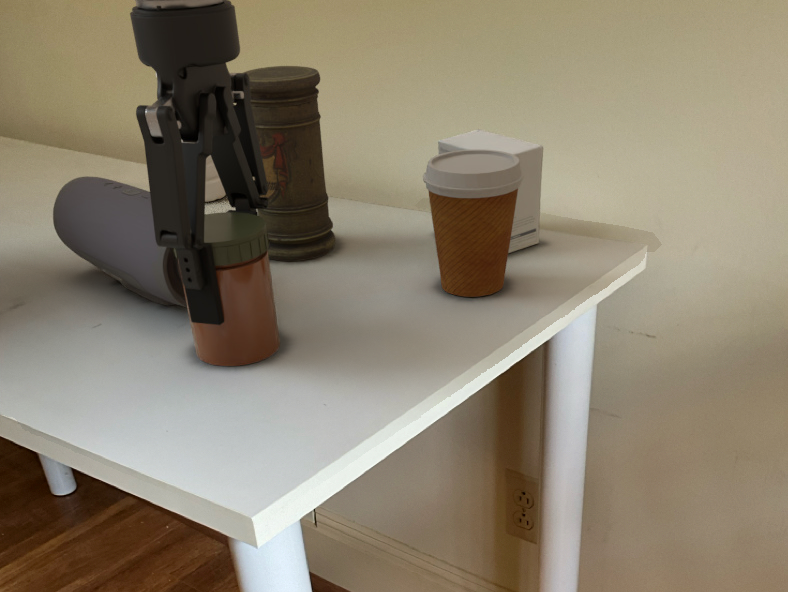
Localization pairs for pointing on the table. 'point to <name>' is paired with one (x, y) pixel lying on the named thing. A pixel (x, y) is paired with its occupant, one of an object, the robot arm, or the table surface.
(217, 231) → the lid
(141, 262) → the bluetooth speaker
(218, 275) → the jar
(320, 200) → the container
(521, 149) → the cosmetics box
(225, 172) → the robot arm
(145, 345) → the table surface
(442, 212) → the disposable coffee cup
